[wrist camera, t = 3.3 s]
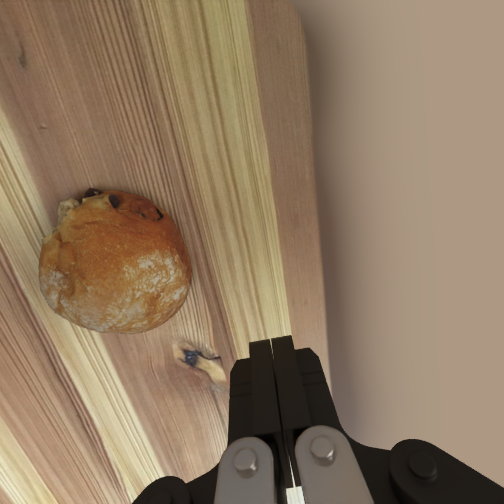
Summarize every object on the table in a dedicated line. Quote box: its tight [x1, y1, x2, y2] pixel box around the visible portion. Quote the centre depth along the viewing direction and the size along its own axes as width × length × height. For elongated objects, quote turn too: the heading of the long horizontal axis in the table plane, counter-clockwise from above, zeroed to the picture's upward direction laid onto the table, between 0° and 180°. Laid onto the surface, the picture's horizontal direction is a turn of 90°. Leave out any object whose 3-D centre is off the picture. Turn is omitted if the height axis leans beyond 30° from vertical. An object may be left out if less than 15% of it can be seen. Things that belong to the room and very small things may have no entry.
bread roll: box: [39, 188, 192, 334], centre depth 23 cm, size 10×10×8 cm
